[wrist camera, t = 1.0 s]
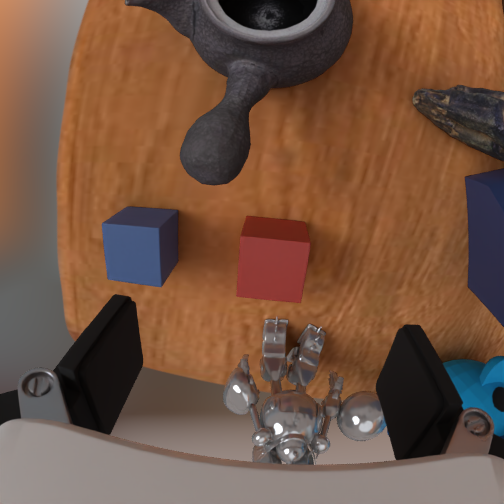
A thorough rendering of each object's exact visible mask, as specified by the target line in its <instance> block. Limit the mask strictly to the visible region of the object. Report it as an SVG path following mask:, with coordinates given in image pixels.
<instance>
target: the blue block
mask: <svg viewBox="0 0 504 504" xmlns="http://www.w3.org/2000/svg"><path fill="white" fill-rule="evenodd" d="M102 232H103V243H104V252H105V261H106V269H107V277H108V280H115V281H121V282H128V283H135V284H142V285H149V286H156V287H162V286H163V284H164V283H165V281H166V279H167V278H168V276H169V275H170V273H171V272H172V270H173V269H174V267H175V266H176V264H177V263H178V210H171V209H157V208H143V207H126V208H124V209H123V210H121V211H120V212H118V213H117V214H115V215H114V216H112V217H111V218H109V219H108V220H106V221H105V222H103V223H102Z"/></svg>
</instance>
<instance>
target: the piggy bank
mask: <svg viewBox="0 0 504 504" xmlns="http://www.w3.org/2000/svg"><path fill="white" fill-rule="evenodd" d="M443 365H444V367H445V369H446V371H447V372H448V374H449V376H450V378H451V380H452V382H453V384H454V385H455V387H456V389H457V391H458V393H459V395H460V397H461V399H462V401H463V404H462V407H463V409H464V410H465V409H466V408H470V407H476V408H479V409H482V410H484V411H485V412H487V413H488V414H489V415H490V417H491V418H492V420H493V423H494V434H496V435H497V436H499V437H501V438H503V439H504V356H496V357H493V358H491V359H490V360H489V361H488V362H487V363H486V364H485V363H482V362H479V361H475V360H468V359H458V360H451V361H447V362H444V363H443ZM387 432H388V429H387ZM388 435H389V433H388ZM389 437H390V436H389Z"/></svg>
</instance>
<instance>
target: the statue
mask: <svg viewBox="0 0 504 504" xmlns="http://www.w3.org/2000/svg"><path fill="white" fill-rule="evenodd" d="M413 104H414V106H415V107H416V108H417V110H419V111H420V112H421V113H422V114H424V115H425V116H426V117H427V118H429V119H430V120H431V121H432V122H433V123H434V124H435V125H436V126H438V127H439V128H441V129H442V130H444V131H445V132H446V133H447V134H449V135H450V136H451V137H453V138H455V139H457V140H459V141H461V142H464V143H465V144H467V145H468V146H470V147H472V148H474V149H476V150H479V151H481V152H483V153H485V154H488V155H490V156H492V157H494V158H497V159H499V160H501V161H504V92H501V91H492V90H489V89H484V88H470V87H466V86H463V85H457V86H456V87H452V88H450V89H448V90H433V89H418V90H417V91H416V92H415V93H414V96H413Z"/></svg>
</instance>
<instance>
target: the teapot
mask: <svg viewBox="0 0 504 504" xmlns="http://www.w3.org/2000/svg"><path fill="white" fill-rule="evenodd" d="M125 5H127V6H140V7H144V8H147V9H149V10H152V11H155V12H157V13H159V14H160V15H162V16H163V17H164V18H166V19H167V20H168V21H169V22H170V23H171V25H172V26H173V27H174V28H175V29H176V30H177V31H178V32H179V33H181V34H182V35H184V36H186V37H188V38H189V39H190V40H191V41H192V43H193V45H194V47H195V49H196V51H197V52H198V54H199V55H200V56H201V58H202V59H203V60H204V61H205V62H206V63H207V64H208V65H209V66H210V67H211V68H212V69H214V70H215V71H217V72H218V73H220V74H222V75H224V76H226V77H228V79H227V88H226V93H225V96H224V98H223V100H222V101H221V102H220V103H219V104H218V105H217V106H216V107H215V108H214V109H212V110H210V111H209V112H207V113H206V114H204V115H203V116H201V117H200V118H198V119H197V120H196V122H195V123H194V124H193V125H192V126H191V128H190V129H189V130H188V132H187V134H186V136H185V139H184V142H183V144H182V147H181V151H180V160H181V162H182V165H183V167H184V169H185V170H186V172H187V173H188V174H189V175H190V176H192V177H193V178H195V179H196V180H197V181H199V182H200V183H202V184H207V185H221V184H228V183H229V182H230V181H231V180H233V179H234V178H235V177H237V175H238V174H239V173H240V171H241V170H242V168H243V166H244V164H245V162H246V160H247V158H248V154H249V150H250V145H251V143H250V130H249V112H250V110H251V108H252V107H253V106H254V105H255V104H256V103H257V102H259V101H260V100H261V99H262V98H263V97H264V96H265V95H266V94H267V93H268V91H269V90H270V89H271V88H282V87H290V86H295V85H299V84H302V83H305V82H308V81H310V80H312V79H314V78H316V77H318V76H319V75H321V74H323V73H324V72H325V71H326V70H327V69H329V68H330V67H331V66H332V65H333V64H335V62H336V61H337V60H338V59H339V58H340V57H341V55H342V54H343V52H344V50H345V48H346V46H347V44H348V42H349V39H350V36H351V33H352V26H353V14H352V8H351V4H350V0H125Z"/></svg>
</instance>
